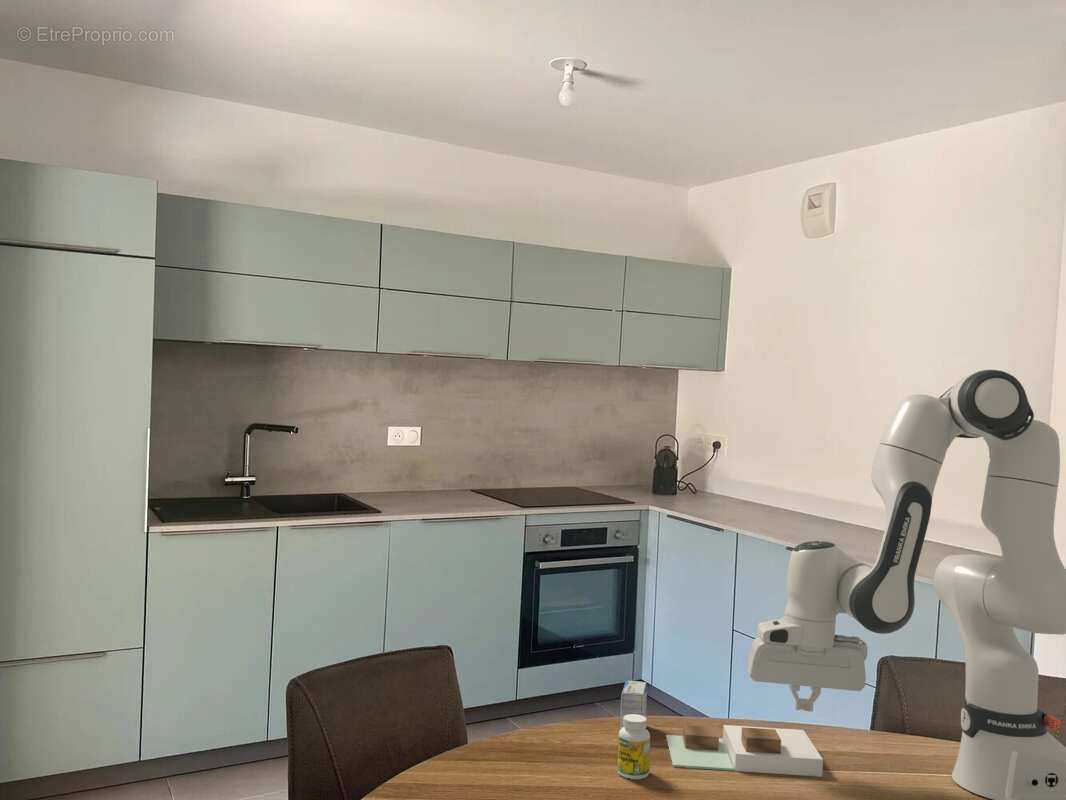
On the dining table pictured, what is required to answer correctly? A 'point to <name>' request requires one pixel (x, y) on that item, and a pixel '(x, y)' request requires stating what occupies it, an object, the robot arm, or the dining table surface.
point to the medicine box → (633, 699)
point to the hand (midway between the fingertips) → (803, 710)
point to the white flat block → (792, 760)
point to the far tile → (700, 737)
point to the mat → (698, 755)
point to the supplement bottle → (634, 747)
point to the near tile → (761, 740)
